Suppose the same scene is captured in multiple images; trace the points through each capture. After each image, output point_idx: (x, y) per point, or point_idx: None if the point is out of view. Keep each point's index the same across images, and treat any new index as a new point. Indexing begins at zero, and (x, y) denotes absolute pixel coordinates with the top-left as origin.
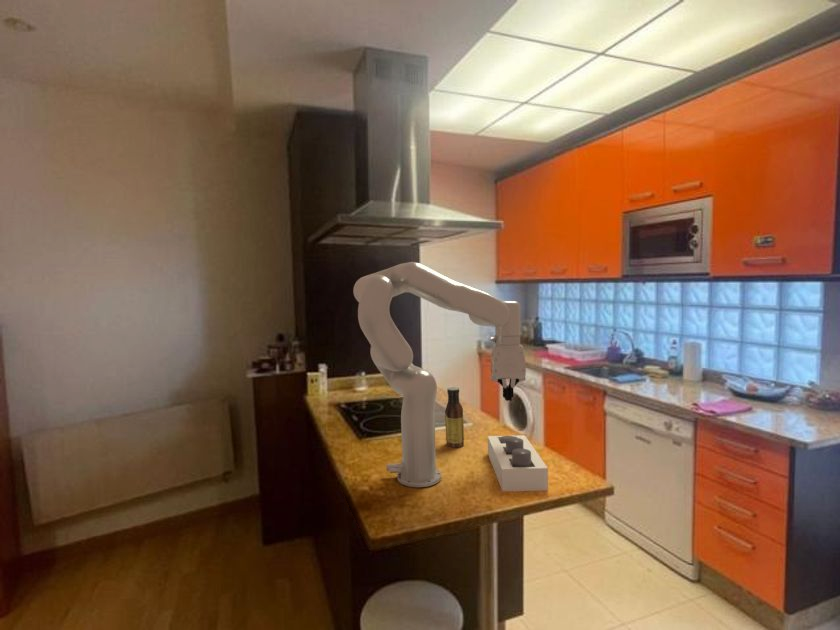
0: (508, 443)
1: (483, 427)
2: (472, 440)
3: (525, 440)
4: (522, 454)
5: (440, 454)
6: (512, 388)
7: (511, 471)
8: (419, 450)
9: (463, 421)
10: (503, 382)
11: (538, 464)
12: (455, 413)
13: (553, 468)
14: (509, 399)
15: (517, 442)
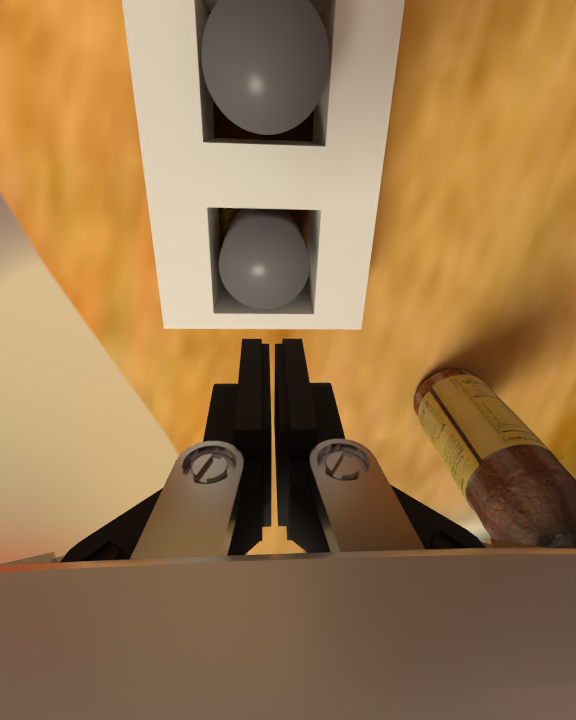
0: (319, 21)
1: None
2: (367, 433)
3: (171, 249)
4: None
5: (537, 305)
6: (214, 453)
7: None
8: None
9: (455, 455)
10: (386, 512)
11: None
12: (537, 465)
13: (61, 94)
14: (267, 346)
15: (253, 3)
